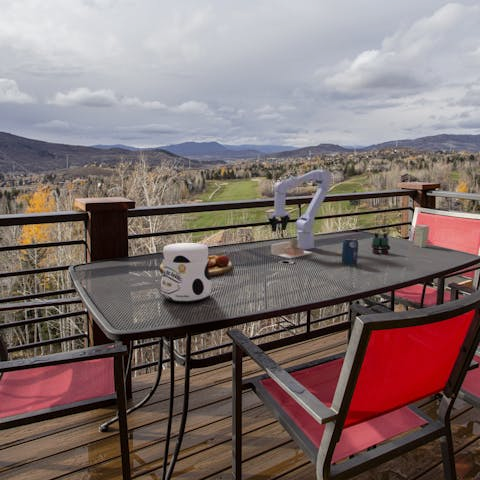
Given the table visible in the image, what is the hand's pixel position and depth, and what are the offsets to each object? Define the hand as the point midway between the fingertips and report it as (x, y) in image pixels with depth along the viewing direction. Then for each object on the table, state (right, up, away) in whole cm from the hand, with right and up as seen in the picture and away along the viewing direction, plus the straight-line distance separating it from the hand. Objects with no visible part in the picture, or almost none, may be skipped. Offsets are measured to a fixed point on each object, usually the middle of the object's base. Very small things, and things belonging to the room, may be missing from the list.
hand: (278, 230), depth 217 cm
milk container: (-39, -25, -76) cm, 89 cm away
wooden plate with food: (-40, -18, -36) cm, 57 cm away
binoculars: (+53, -12, -4) cm, 54 cm away
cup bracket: (+6, -12, -7) cm, 15 cm away
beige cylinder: (+7, -12, -8) cm, 16 cm away
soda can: (+30, -16, -26) cm, 43 cm away
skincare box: (+82, -9, +16) cm, 84 cm away
